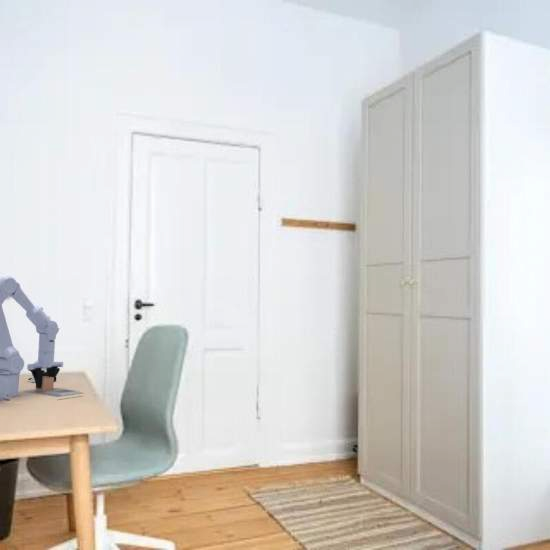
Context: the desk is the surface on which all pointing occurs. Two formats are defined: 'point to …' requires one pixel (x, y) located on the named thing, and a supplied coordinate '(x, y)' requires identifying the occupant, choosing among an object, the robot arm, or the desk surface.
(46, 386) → the block
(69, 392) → the locating frame
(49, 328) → the robot arm
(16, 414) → the desk surface
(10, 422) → the desk surface
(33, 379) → the toy
